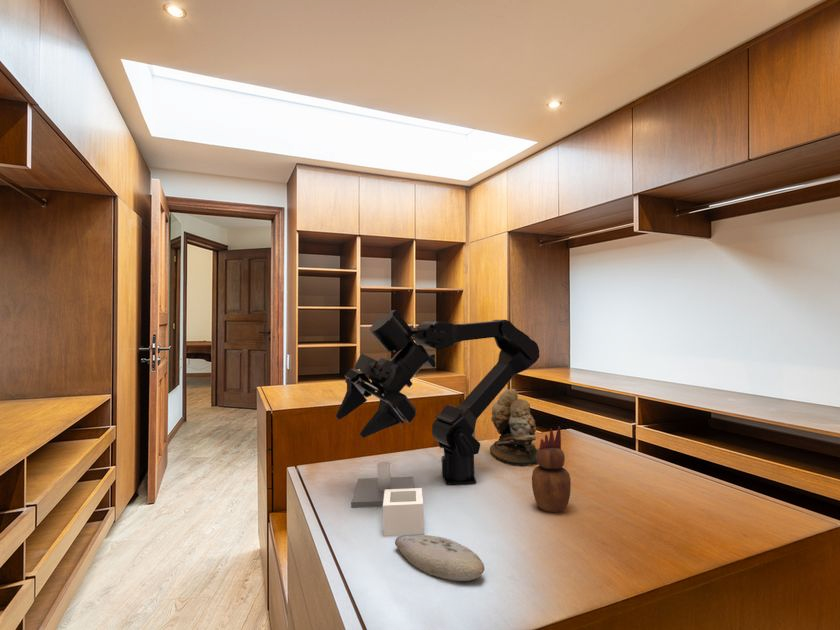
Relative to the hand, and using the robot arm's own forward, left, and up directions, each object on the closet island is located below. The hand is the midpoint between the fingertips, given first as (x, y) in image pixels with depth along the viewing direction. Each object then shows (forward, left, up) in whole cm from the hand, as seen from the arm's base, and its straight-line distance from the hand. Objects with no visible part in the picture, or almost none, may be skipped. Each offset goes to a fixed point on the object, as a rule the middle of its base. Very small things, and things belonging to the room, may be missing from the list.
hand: (348, 426), depth 83 cm
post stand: (-6, -5, -15) cm, 17 cm away
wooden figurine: (-37, +5, -15) cm, 40 cm away
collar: (-10, +9, -15) cm, 20 cm away
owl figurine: (-38, -25, -15) cm, 48 cm away
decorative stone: (-15, +21, -16) cm, 30 cm away
